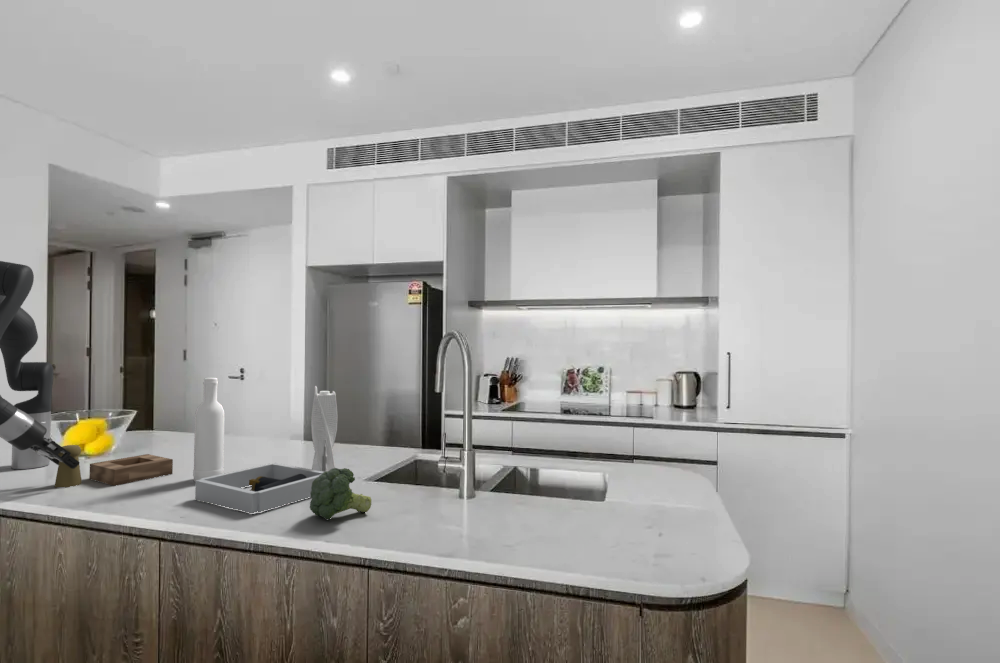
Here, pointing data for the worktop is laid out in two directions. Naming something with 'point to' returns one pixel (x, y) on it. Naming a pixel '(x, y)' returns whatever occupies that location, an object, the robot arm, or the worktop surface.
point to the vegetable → (336, 494)
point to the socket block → (130, 469)
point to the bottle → (209, 434)
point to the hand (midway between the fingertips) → (69, 464)
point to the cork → (69, 469)
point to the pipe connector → (272, 482)
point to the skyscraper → (324, 429)
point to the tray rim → (231, 494)
